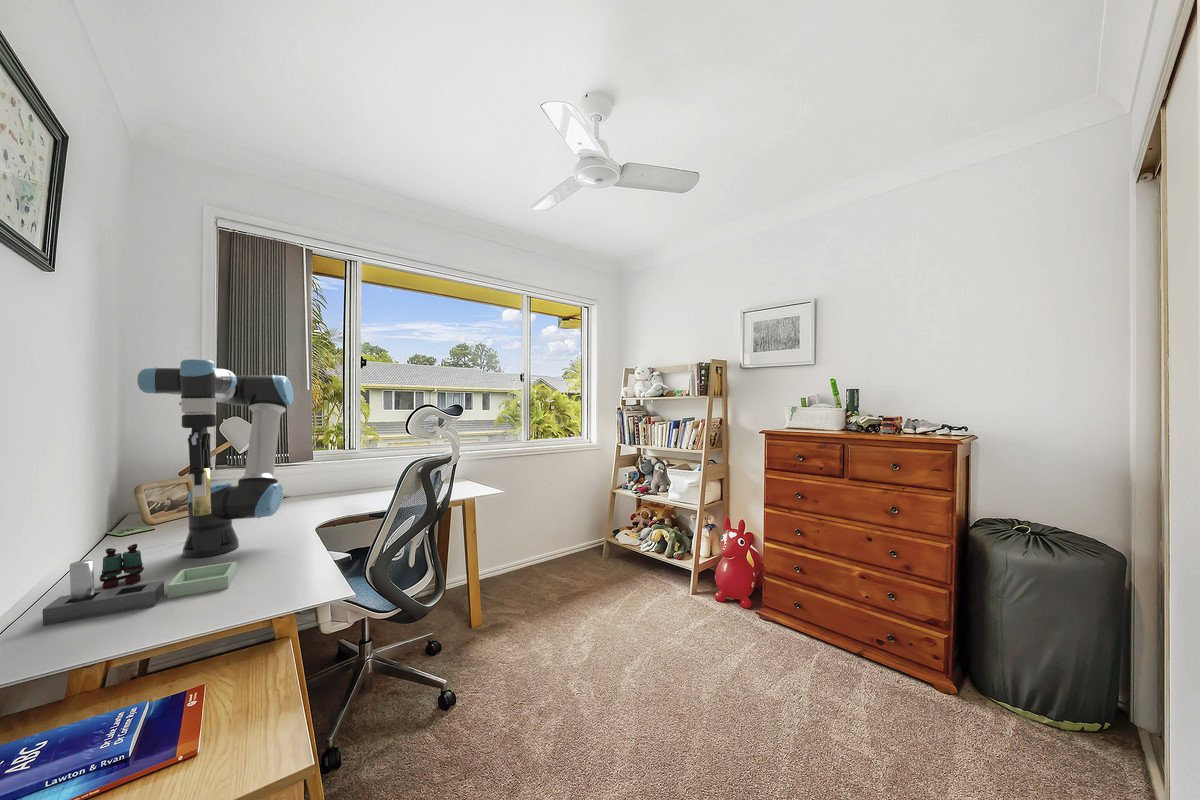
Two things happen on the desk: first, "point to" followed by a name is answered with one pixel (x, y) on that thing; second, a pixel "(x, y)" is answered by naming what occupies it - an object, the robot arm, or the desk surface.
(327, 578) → the desk surface
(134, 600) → the bar
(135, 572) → the binoculars
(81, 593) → the pin
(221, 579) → the tray
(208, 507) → the brass pin
